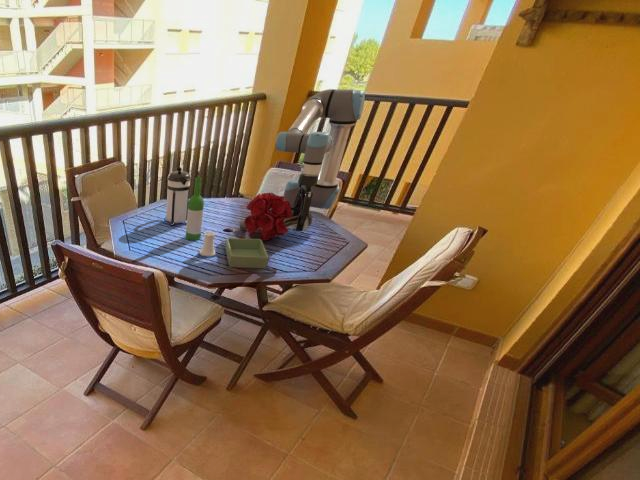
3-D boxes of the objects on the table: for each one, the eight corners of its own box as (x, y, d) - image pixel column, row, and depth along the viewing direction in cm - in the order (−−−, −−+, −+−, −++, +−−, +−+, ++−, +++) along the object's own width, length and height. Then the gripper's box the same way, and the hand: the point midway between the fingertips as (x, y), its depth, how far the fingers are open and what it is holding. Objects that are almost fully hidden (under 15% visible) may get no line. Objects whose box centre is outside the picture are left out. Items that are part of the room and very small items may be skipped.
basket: (225, 248, 193) (226, 237, 190) (259, 249, 191) (261, 239, 188) (229, 266, 175) (230, 256, 172) (266, 268, 174) (269, 257, 171)
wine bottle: (188, 234, 209) (193, 175, 191) (202, 236, 205) (208, 177, 188) (183, 239, 203) (187, 179, 186) (197, 241, 200) (203, 181, 182)
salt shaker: (211, 257, 183) (214, 237, 177) (196, 254, 186) (198, 234, 180) (217, 252, 188) (220, 232, 182) (203, 249, 192) (205, 229, 186)
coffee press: (194, 220, 226) (199, 165, 209) (182, 228, 215) (186, 171, 198) (167, 215, 234) (170, 162, 216) (155, 223, 223) (156, 167, 205)
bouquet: (230, 248, 209) (275, 236, 183) (223, 204, 206) (267, 185, 179) (259, 243, 219) (305, 231, 192) (252, 200, 216) (298, 182, 189)
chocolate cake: (279, 229, 174) (303, 215, 165) (281, 220, 178) (305, 205, 169) (292, 243, 177) (317, 230, 168) (294, 234, 181) (318, 220, 172)
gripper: (294, 168, 170) (282, 219, 183) (306, 180, 153) (292, 235, 166) (312, 168, 169) (299, 219, 182) (326, 180, 152) (311, 236, 165)
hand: (296, 227), depth 174 cm, fingers closed on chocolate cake, 9 cm apart
